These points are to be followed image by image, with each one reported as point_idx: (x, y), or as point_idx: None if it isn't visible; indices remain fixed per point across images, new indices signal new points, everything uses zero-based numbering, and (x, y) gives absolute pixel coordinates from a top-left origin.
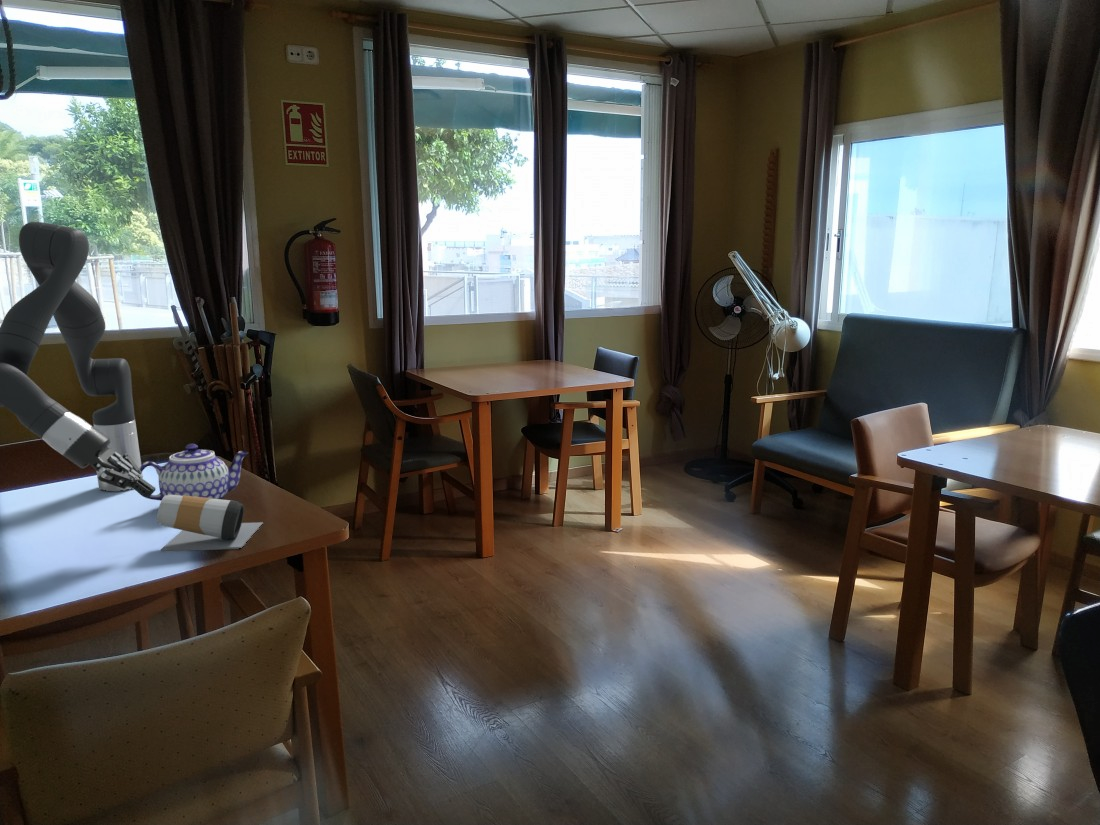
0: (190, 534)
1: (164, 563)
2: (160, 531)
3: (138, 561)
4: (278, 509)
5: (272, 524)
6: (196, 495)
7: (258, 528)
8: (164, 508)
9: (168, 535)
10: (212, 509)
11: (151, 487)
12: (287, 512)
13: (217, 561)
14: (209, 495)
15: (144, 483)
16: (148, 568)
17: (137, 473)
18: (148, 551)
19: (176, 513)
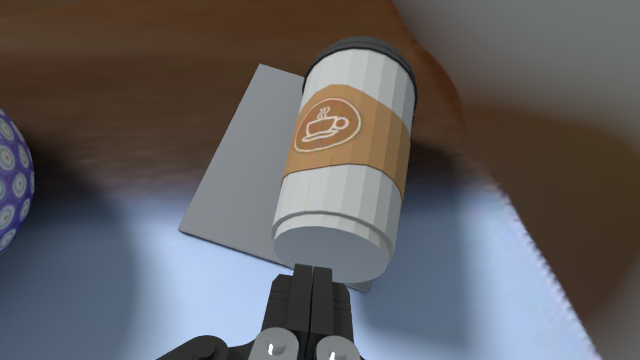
0: (273, 220)
1: (458, 273)
2: (180, 314)
3: (427, 347)
4: (163, 32)
5: (271, 51)
6: (23, 185)
7: (293, 75)
8: (395, 237)
9: (234, 284)
10: (404, 101)
11: (318, 276)
12: (199, 19)
13: (472, 158)
14: (26, 151)
15: (331, 305)
16: (484, 310)
17: (264, 354)
18: (354, 328)
19: (401, 204)
